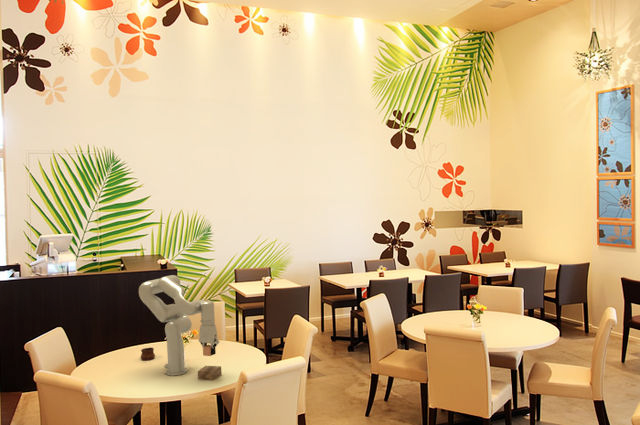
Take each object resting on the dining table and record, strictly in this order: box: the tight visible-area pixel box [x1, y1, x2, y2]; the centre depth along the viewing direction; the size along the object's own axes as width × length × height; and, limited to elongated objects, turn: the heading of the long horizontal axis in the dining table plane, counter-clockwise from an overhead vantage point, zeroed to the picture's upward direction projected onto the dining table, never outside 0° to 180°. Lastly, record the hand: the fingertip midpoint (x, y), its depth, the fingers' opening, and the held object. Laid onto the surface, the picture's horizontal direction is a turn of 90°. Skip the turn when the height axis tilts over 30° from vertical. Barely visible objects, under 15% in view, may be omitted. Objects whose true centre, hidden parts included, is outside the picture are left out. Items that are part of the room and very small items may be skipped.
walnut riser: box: [197, 365, 222, 381], centre depth 302 cm, size 10×10×5 cm
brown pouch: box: [140, 347, 156, 362], centre depth 342 cm, size 18×18×7 cm
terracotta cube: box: [202, 344, 217, 357], centre depth 302 cm, size 5×5×5 cm
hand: (209, 353), depth 302 cm, fingers closed on terracotta cube, 5 cm apart
